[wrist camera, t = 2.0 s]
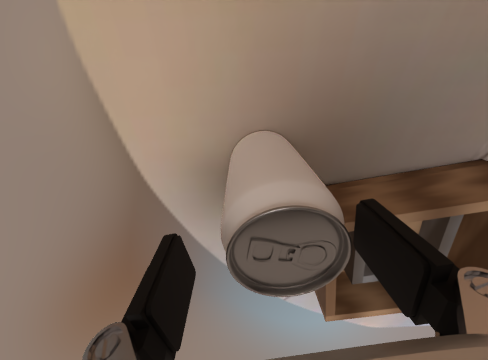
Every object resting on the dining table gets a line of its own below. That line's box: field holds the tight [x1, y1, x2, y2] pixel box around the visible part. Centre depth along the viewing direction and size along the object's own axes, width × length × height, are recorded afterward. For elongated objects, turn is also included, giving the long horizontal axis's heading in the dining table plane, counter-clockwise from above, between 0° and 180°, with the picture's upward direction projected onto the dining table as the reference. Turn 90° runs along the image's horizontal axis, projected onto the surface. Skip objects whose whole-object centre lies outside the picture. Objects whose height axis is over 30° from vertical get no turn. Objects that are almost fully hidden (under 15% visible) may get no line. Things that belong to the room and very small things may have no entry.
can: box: [221, 131, 352, 297], centre depth 14 cm, size 6×6×12 cm
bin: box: [315, 159, 488, 322], centre depth 21 cm, size 18×14×6 cm
